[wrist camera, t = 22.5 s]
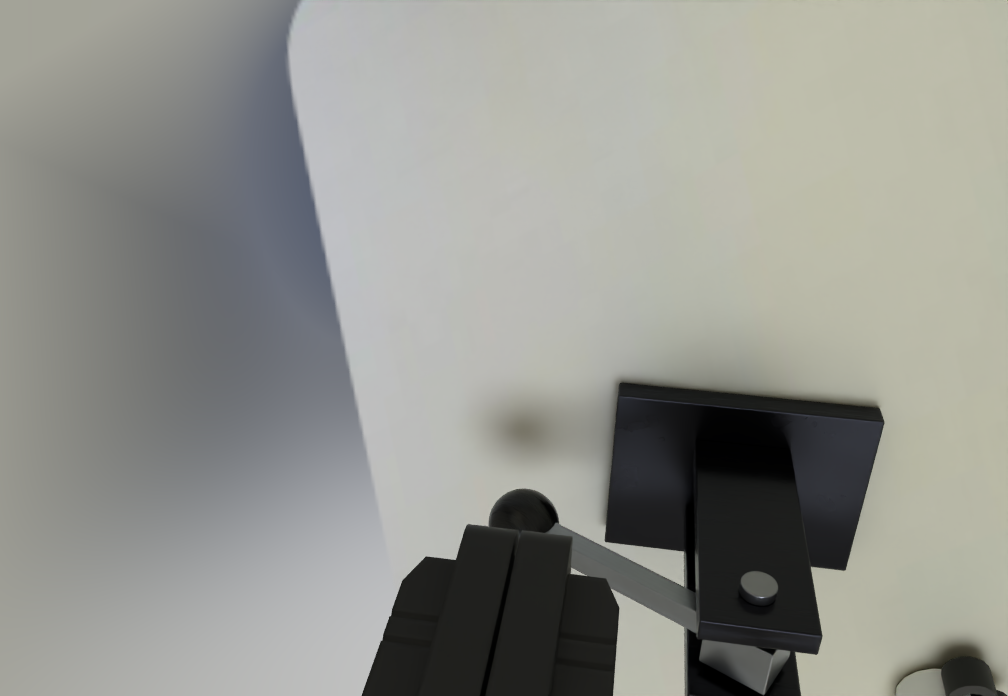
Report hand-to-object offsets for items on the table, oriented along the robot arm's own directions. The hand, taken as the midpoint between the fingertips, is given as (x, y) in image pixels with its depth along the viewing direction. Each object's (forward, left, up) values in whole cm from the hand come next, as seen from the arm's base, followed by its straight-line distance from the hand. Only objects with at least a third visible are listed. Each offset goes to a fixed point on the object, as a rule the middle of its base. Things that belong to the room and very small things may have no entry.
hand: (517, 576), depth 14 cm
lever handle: (+3, -19, -22) cm, 29 cm away
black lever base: (+7, -19, -29) cm, 35 cm away
